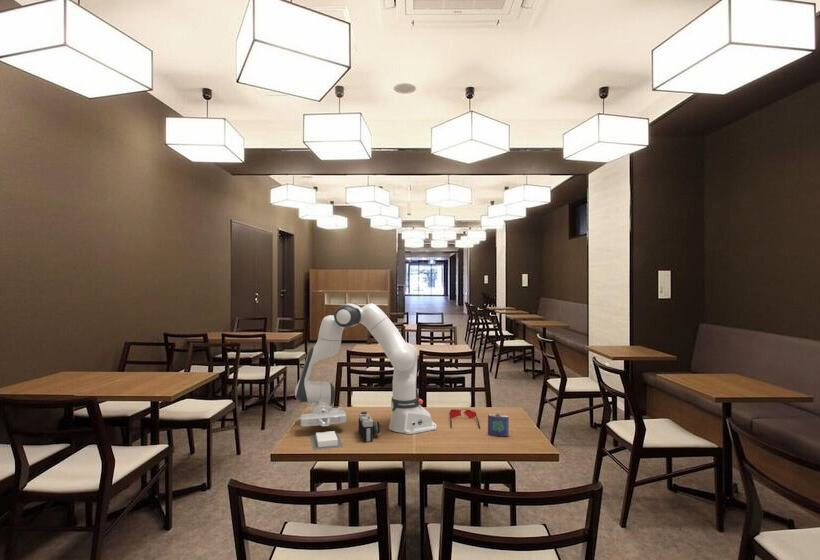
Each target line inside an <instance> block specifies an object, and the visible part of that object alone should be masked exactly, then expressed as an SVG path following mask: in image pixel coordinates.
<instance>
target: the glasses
mask: <svg viewBox="0 0 820 560" xmlns="http://www.w3.org/2000/svg"><path fill="white" fill-rule="evenodd" d="M461 413H462V409H457V408H455V409H450V411H449V413H448V414H449V415H448V416H449V419H450V429H452V425H453V424H452V423H453V421H452V419H454V418H457V417H461V416H462V414H461ZM463 414H464V416H465V417H468V419H470V418H472V419H474V418H476V421H477V424H478V429H479V430H481V425H480V421H479V418H478V415H477V412H476V411H475V410H474V409H472V410H471V409H468V408H467V409H465V410H464V411H463Z"/></svg>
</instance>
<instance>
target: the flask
mask: <svg viewBox="0 0 820 560" xmlns="http://www.w3.org/2000/svg"><path fill="white" fill-rule="evenodd" d="M509 421H510V417H509V416H508V415H503V414H502V415H501V411H497V412H496V413H490V414H488V416H487V435H488V436H490V437H499V438H500V437H504V438H508V437H509V436H510V435H509V431H510V429H509V428H510V425H509V423H510V422H509Z"/></svg>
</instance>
